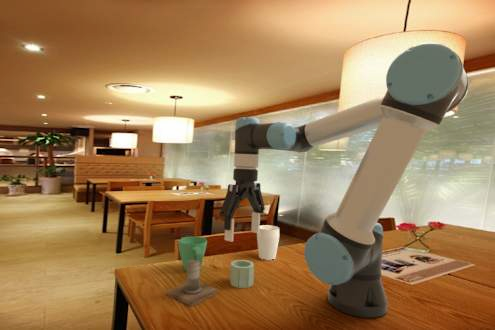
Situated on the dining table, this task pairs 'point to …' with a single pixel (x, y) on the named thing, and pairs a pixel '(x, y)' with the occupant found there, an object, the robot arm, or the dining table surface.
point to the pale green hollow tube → (242, 273)
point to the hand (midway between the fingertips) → (242, 236)
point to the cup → (268, 241)
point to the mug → (192, 249)
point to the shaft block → (192, 287)
